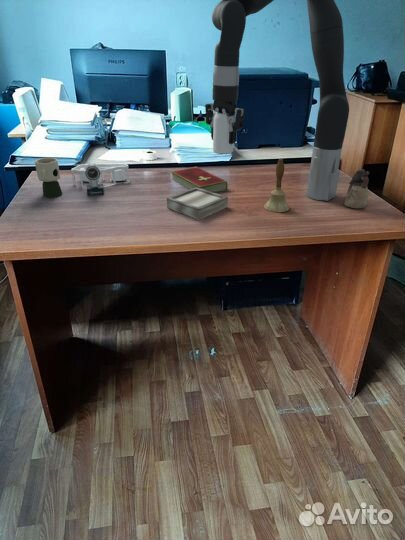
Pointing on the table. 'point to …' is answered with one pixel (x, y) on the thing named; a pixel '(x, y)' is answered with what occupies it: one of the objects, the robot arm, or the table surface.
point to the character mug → (49, 176)
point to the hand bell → (278, 193)
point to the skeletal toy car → (114, 169)
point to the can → (222, 134)
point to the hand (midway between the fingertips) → (223, 141)
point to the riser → (197, 202)
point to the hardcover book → (199, 179)
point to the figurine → (357, 190)
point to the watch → (93, 180)
